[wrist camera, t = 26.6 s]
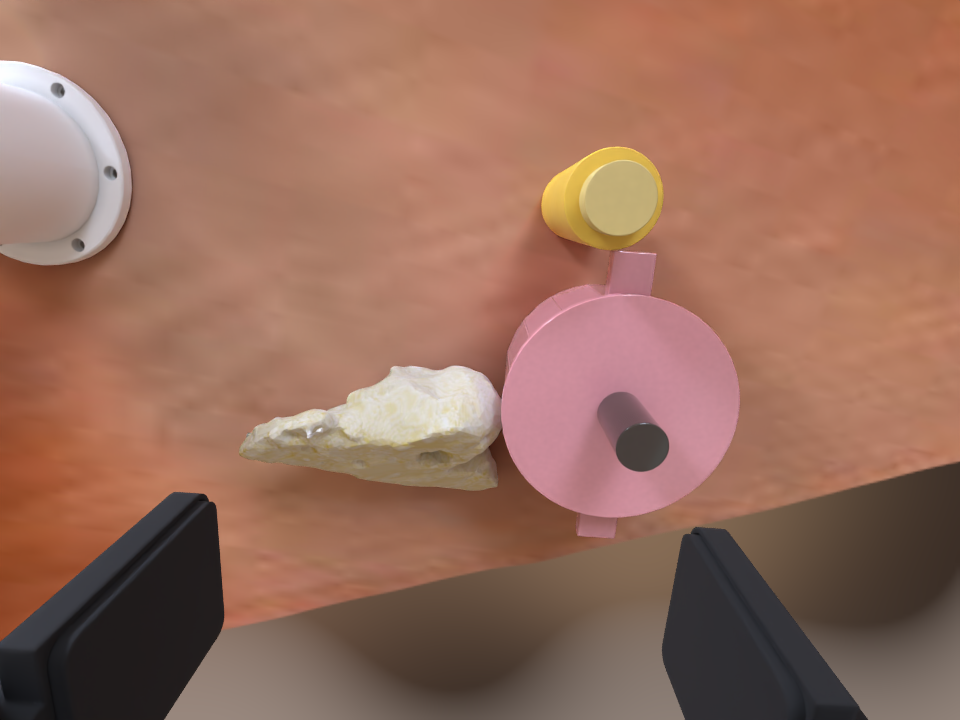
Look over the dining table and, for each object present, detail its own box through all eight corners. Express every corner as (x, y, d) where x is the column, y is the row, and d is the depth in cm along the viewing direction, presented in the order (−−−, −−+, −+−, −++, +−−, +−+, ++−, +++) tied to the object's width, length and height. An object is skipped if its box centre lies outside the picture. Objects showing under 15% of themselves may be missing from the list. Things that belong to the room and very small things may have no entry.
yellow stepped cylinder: (538, 237, 36) (563, 248, 24) (544, 166, 35) (574, 138, 23) (605, 241, 36) (665, 255, 24) (614, 170, 35) (682, 145, 23)
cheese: (543, 386, 41) (433, 283, 30) (554, 478, 38) (432, 400, 26) (386, 431, 48) (246, 361, 36) (382, 514, 44) (224, 464, 32)
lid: (492, 500, 33) (493, 559, 28) (509, 283, 30) (514, 299, 24) (709, 515, 33) (754, 577, 28) (752, 299, 30) (814, 319, 24)
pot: (496, 477, 41) (498, 537, 33) (515, 238, 36) (522, 245, 29) (659, 488, 41) (698, 551, 33) (699, 251, 36) (755, 260, 29)
